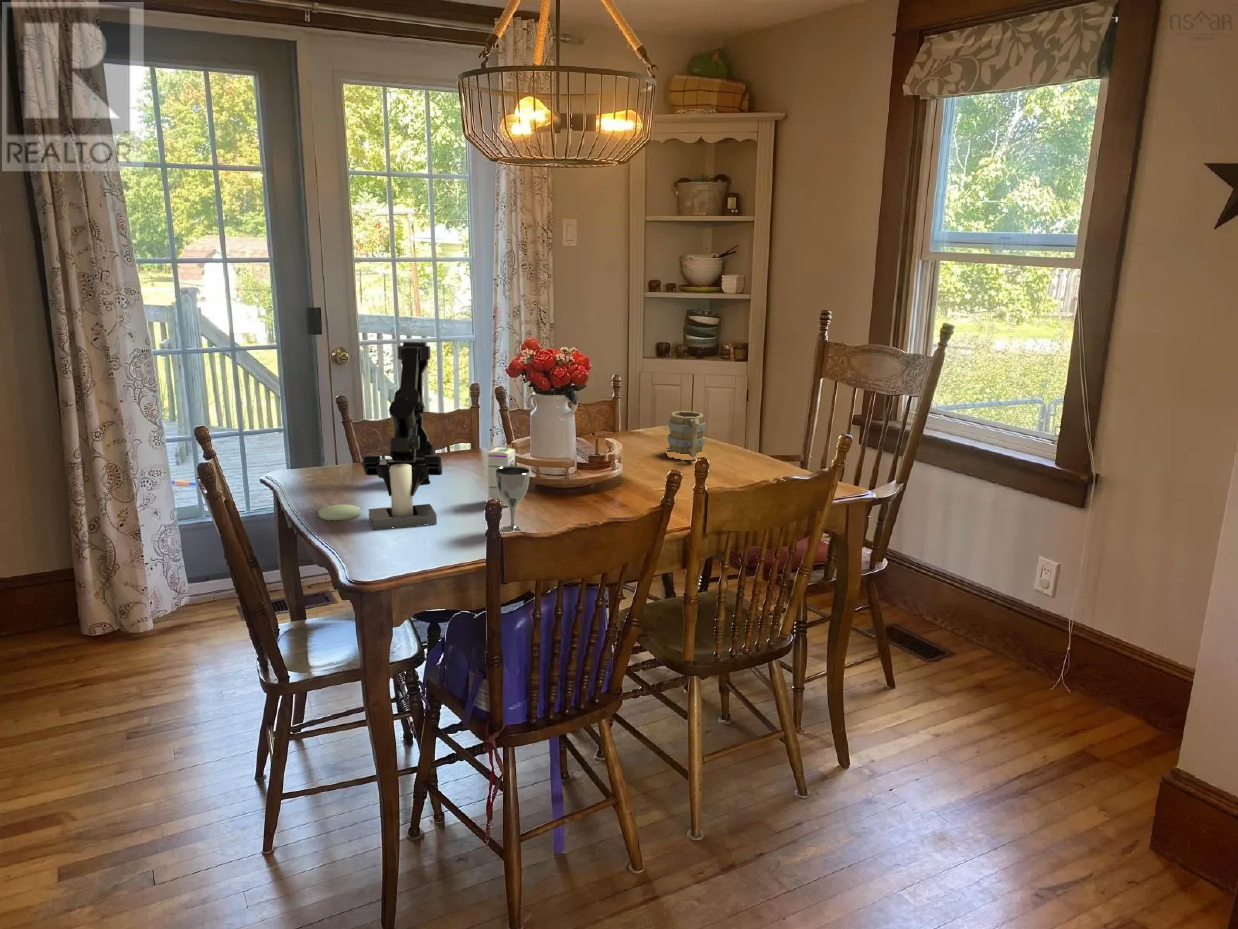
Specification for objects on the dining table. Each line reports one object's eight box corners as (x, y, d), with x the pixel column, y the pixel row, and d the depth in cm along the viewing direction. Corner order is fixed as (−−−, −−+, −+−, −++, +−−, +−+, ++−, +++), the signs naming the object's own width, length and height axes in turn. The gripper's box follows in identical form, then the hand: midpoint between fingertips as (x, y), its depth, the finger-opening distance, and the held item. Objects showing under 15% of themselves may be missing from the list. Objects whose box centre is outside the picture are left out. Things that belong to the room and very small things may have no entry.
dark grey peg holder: (430, 513, 224) (429, 503, 224) (436, 524, 216) (436, 514, 216) (369, 518, 219) (368, 508, 218) (373, 530, 211) (372, 520, 210)
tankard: (663, 451, 295) (665, 406, 291) (700, 451, 297) (702, 407, 293) (673, 466, 276) (675, 419, 272) (712, 466, 277) (715, 419, 274)
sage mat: (358, 506, 228) (358, 503, 227) (362, 518, 219) (362, 514, 218) (317, 510, 224) (317, 506, 224) (319, 522, 215) (319, 518, 215)
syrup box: (509, 507, 231) (509, 453, 227) (487, 505, 232) (487, 451, 229) (515, 500, 237) (516, 448, 233) (494, 499, 238) (494, 446, 234)
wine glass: (496, 524, 217) (496, 465, 213) (529, 525, 218) (529, 466, 214) (495, 535, 209) (494, 474, 206) (528, 535, 210) (529, 474, 206)
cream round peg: (411, 517, 221) (409, 463, 217) (414, 523, 216) (412, 468, 213) (390, 519, 219) (388, 464, 215) (393, 525, 214) (391, 469, 211)
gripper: (361, 423, 214) (356, 479, 206) (440, 423, 216) (437, 479, 208) (368, 446, 224) (363, 501, 216) (443, 447, 226) (441, 501, 218)
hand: (401, 495), depth 214 cm, fingers closed on cream round peg, 5 cm apart
